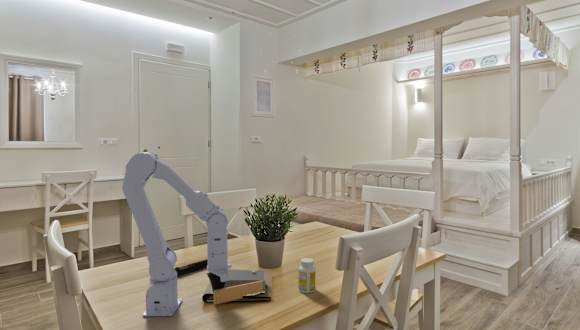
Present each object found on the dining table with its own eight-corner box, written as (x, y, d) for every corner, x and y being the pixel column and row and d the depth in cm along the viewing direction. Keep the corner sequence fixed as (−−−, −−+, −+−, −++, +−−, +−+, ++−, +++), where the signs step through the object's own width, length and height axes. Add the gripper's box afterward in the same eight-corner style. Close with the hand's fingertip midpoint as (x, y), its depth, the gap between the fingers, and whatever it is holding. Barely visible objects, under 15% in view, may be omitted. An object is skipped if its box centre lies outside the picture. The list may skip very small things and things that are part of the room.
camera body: (262, 292, 106) (262, 278, 106) (223, 292, 106) (223, 278, 106) (263, 280, 115) (263, 267, 115) (228, 281, 115) (228, 268, 115)
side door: (266, 293, 105) (266, 281, 105) (214, 305, 97) (214, 291, 97) (264, 292, 106) (264, 279, 106) (213, 303, 99) (213, 290, 98)
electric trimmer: (213, 267, 129) (213, 259, 128) (174, 279, 117) (174, 270, 117) (207, 265, 131) (207, 257, 131) (169, 276, 120) (169, 267, 120)
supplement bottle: (299, 293, 105) (299, 263, 105) (297, 286, 111) (297, 257, 110) (316, 293, 106) (316, 262, 105) (313, 285, 111) (314, 257, 111)
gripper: (238, 256, 95) (239, 304, 95) (223, 242, 107) (224, 285, 108) (213, 260, 91) (214, 310, 92) (201, 246, 104) (201, 289, 105)
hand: (218, 296), depth 100 cm, fingers closed
